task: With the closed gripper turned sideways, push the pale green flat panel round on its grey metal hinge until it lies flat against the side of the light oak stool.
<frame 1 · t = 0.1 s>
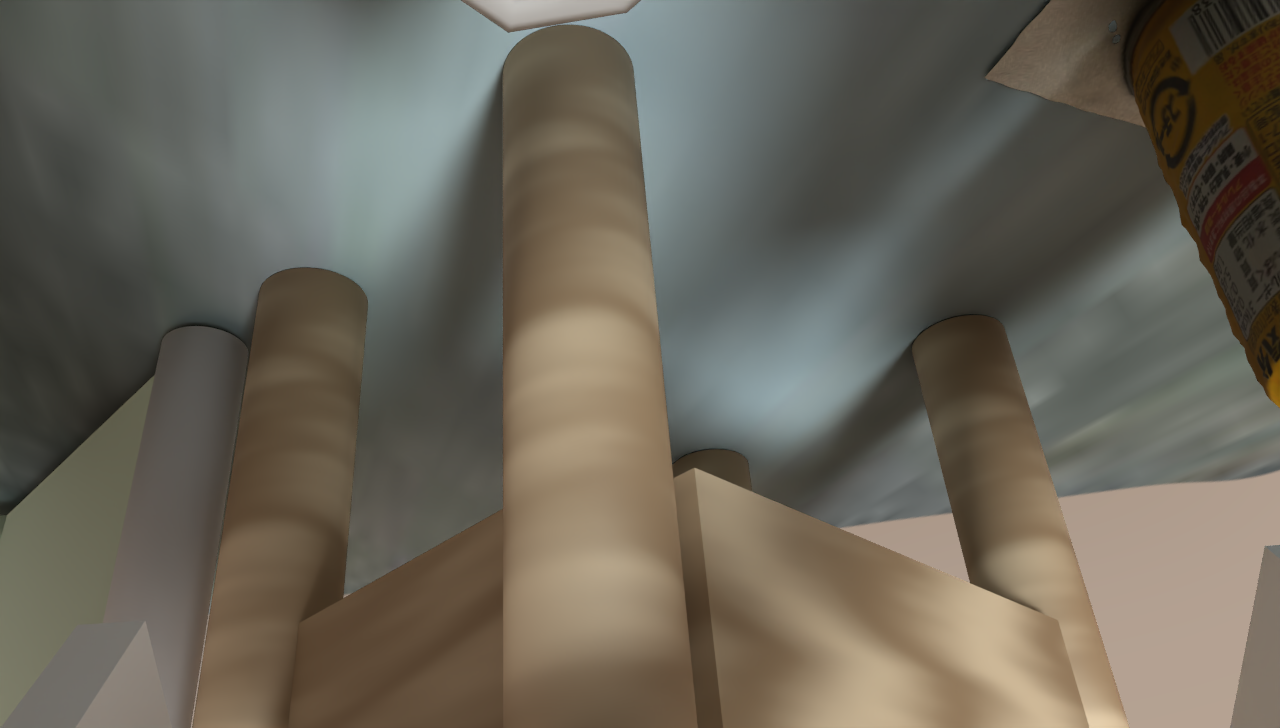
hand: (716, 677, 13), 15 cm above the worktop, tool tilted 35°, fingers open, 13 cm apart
pale green flat panel: (48, 668, 32), point 8 cm above the worktop, hinge at -90.0°
stool: (656, 322, 33), on the worktop
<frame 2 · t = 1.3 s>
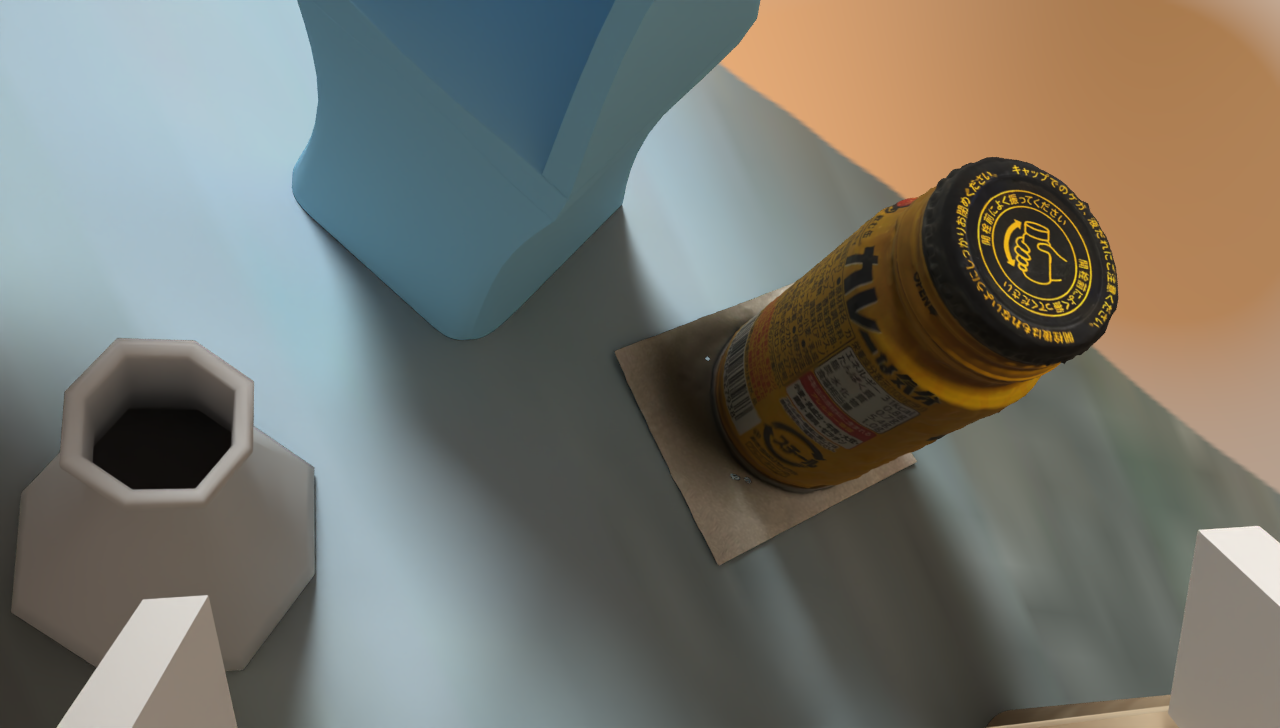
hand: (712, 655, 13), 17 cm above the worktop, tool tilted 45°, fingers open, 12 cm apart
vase: (455, 195, 34), on the worktop
flask: (173, 538, 27), on the worktop
condiment: (764, 413, 35), on the worktop
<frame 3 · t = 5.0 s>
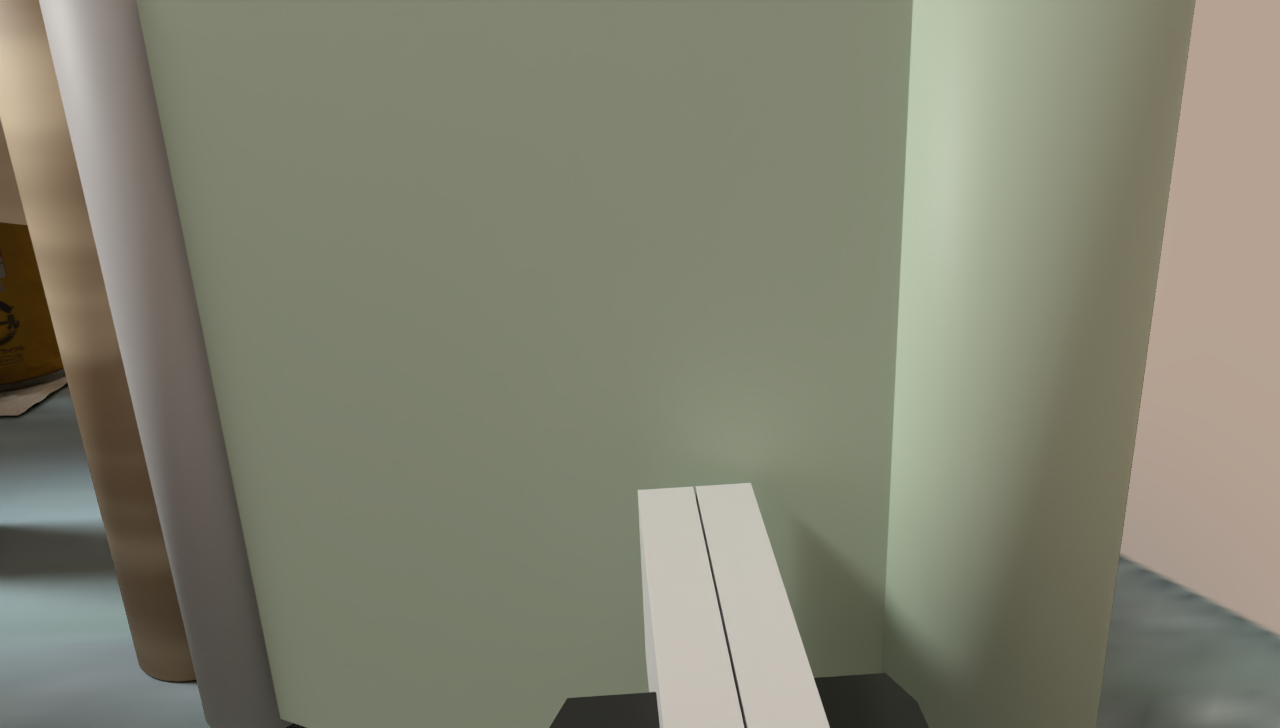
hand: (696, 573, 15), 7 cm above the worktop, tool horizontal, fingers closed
pale green flat panel: (535, 429, 17), point 8 cm above the worktop, hinge at -89.0°, touching gripper
stool: (287, 457, 35), on the worktop
condiment: (1, 381, 44), on the worktop
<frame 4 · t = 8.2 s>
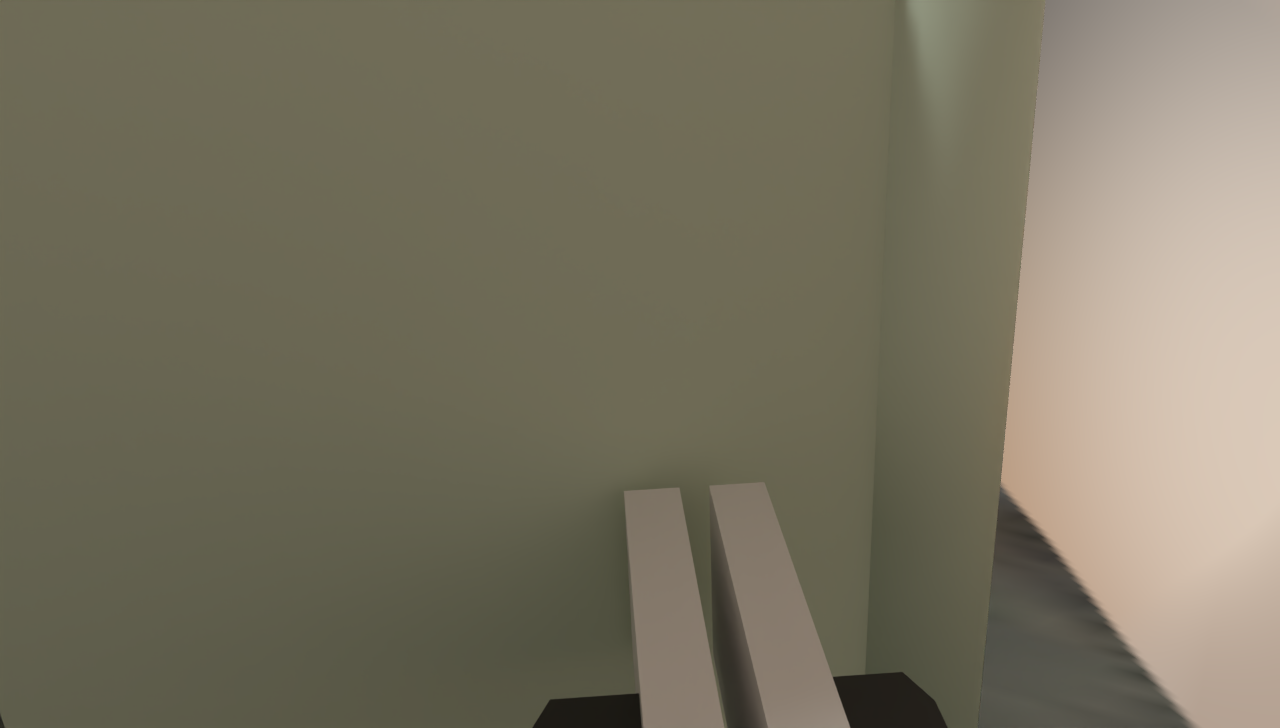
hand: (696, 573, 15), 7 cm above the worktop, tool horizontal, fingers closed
pale green flat panel: (493, 511, 15), point 8 cm above the worktop, hinge at -15.2°, touching gripper
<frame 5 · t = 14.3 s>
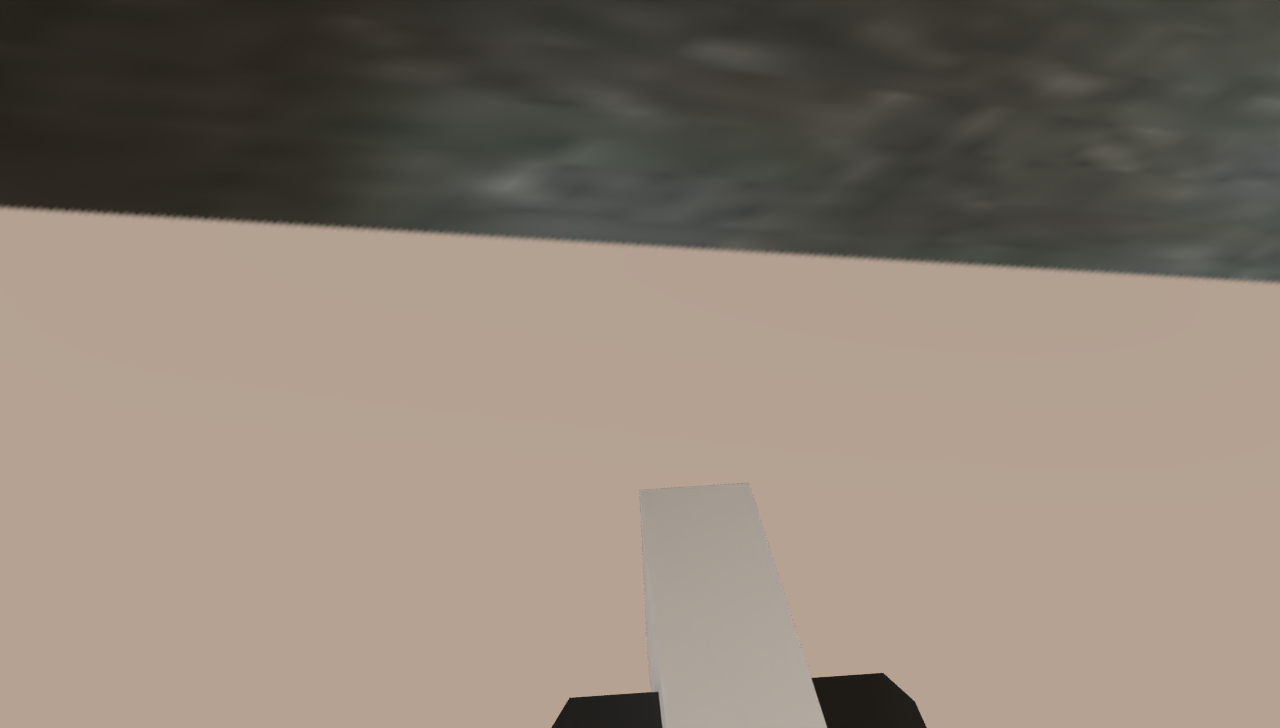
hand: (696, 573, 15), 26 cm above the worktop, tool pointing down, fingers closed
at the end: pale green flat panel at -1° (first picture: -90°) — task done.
